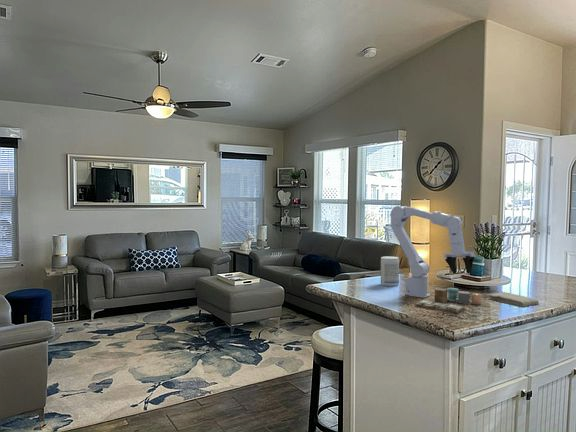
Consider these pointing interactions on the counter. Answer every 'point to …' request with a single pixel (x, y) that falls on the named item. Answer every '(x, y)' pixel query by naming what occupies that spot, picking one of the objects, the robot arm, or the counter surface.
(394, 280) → the supplement tub
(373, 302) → the counter surface
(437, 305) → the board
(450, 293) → the teal spool
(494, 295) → the washcloth
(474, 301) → the peach round blob
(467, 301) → the charcoal cube
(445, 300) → the walnut block
